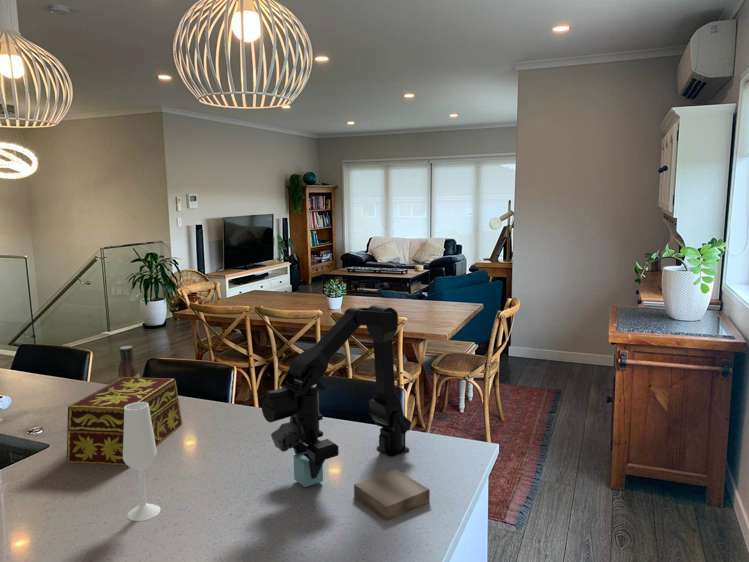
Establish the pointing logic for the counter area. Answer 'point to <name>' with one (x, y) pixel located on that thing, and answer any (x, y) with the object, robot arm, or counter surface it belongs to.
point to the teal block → (305, 471)
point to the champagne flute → (139, 453)
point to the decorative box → (119, 418)
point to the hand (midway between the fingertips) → (308, 473)
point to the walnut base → (391, 494)
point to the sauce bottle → (127, 363)
